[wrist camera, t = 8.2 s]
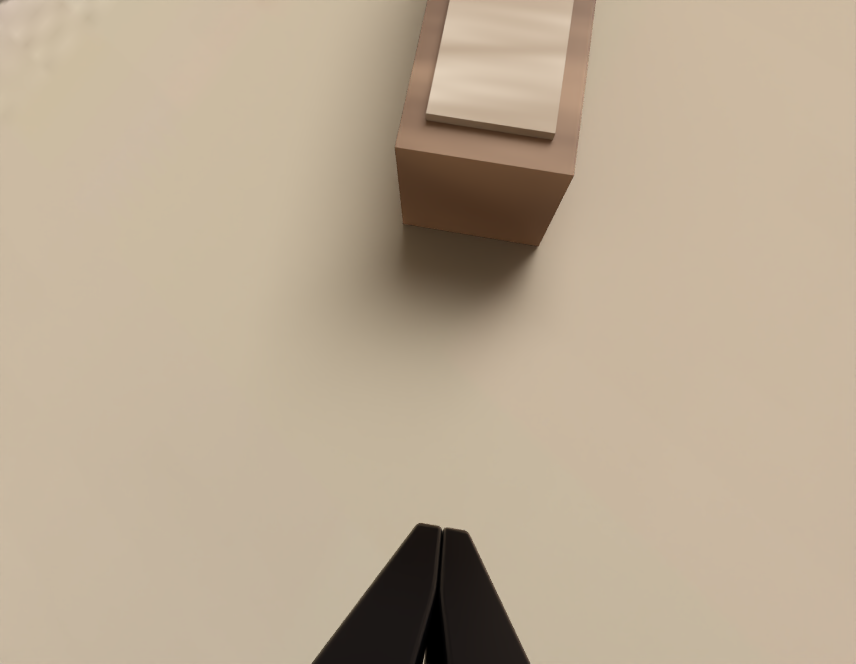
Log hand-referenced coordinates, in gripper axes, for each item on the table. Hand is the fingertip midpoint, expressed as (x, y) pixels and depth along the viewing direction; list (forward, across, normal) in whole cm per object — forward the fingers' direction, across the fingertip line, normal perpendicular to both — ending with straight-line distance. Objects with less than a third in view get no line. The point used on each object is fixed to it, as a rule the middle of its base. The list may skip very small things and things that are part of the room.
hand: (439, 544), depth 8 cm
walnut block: (+11, 0, +2) cm, 11 cm away
